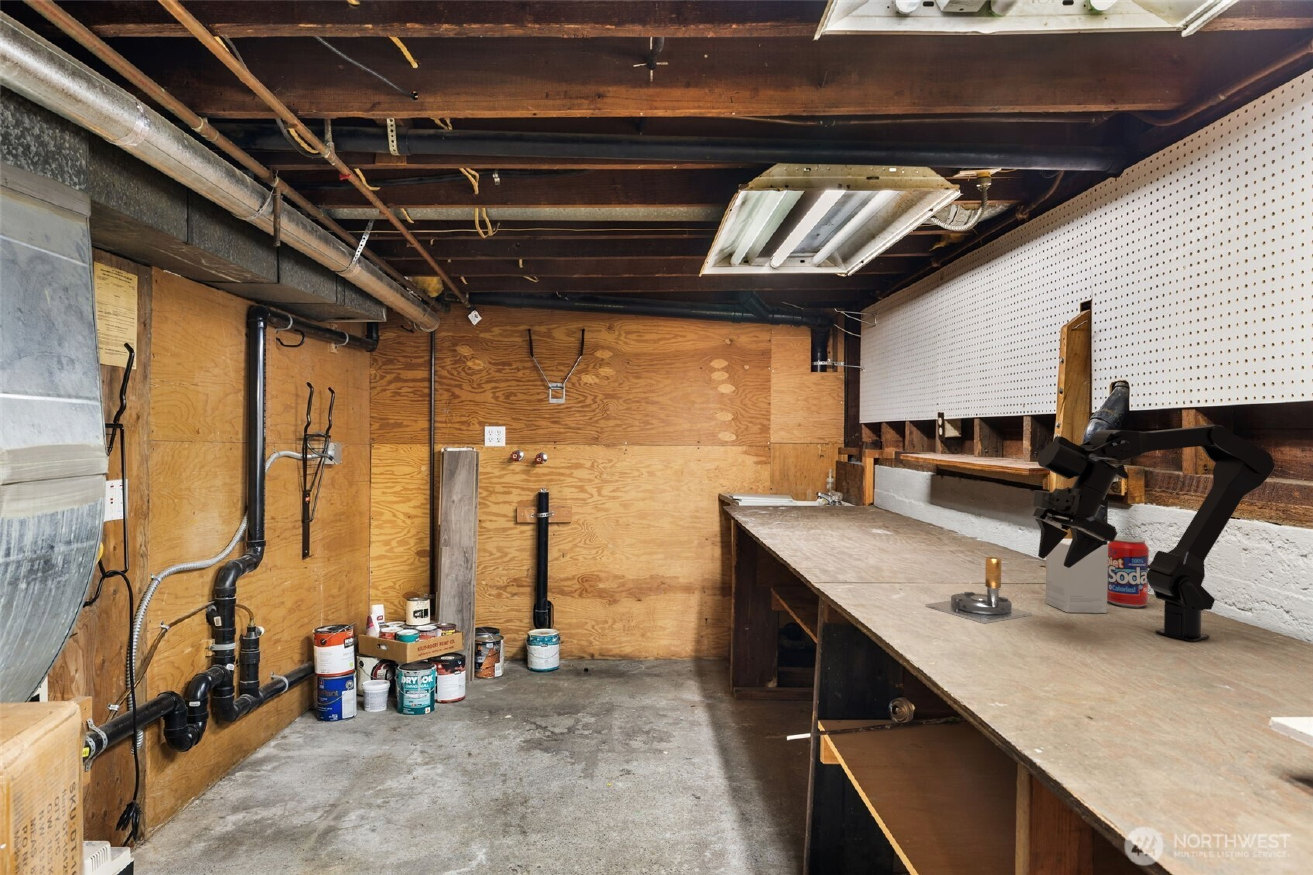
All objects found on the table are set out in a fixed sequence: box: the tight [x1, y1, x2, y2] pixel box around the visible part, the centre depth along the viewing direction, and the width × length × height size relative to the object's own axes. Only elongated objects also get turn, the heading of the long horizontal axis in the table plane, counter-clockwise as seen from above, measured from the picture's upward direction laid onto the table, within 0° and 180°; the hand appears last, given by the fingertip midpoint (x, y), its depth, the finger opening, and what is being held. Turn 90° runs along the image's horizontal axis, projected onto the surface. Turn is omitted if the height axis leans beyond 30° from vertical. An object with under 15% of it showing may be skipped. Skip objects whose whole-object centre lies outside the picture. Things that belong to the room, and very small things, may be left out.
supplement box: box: [1045, 538, 1108, 614], centre depth 155 cm, size 9×9×15 cm
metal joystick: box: [950, 556, 1013, 614], centre depth 152 cm, size 12×12×12 cm
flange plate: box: [924, 599, 1033, 624], centre depth 152 cm, size 15×15×3 cm
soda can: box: [1106, 536, 1150, 609], centre depth 159 cm, size 8×8×15 cm
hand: (1053, 562), depth 135 cm, fingers open, 9 cm apart
